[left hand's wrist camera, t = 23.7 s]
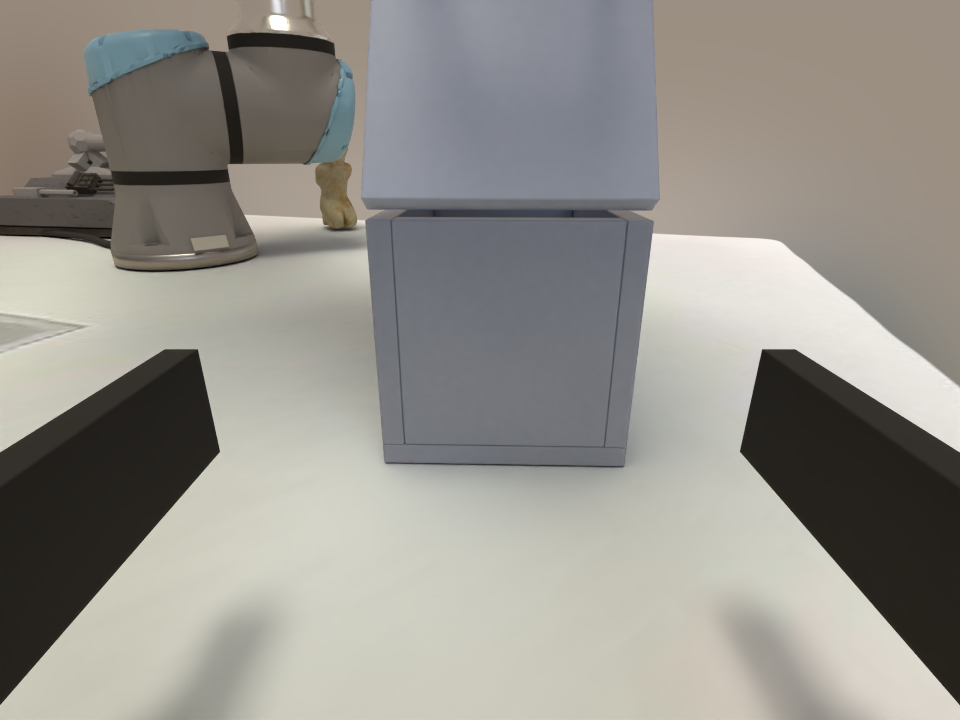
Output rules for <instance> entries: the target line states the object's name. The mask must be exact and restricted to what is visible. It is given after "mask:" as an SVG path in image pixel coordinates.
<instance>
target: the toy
mask: <svg viewBox="0 0 960 720" xmlns="http://www.w3.org/2000/svg"><path fill="white" fill-rule="evenodd" d="M68 143H69V147H70V148H71V149H72V150H73V152H74V155H73V156H72V157H71V158H70V160H69V161H68V162H67V163H68V164H69V165H71V166H72V167H70V168H66V169H63V170H60V171H57V172H55V173H53V174H52V177H49V178H31V179H30V180H29V181H28V183H27V184H26V186H25V187H23V188H12V190H13V194H14V196H0V234H16V235H44V234H41V233H40V232H41V231H45V230H57V231H67V232H75V233H82V234H88V235H93V236H97V237H111V236H112V226H113V217H114V208H115V199H116V192H115V187H114V183H113V178H112V174H111V171H110V167H109V163H108V159H107V158H106V157H104V156H103V155H102V154H101V153H99V151H106V150H105V146H104V142H103V138H102V134H100V135H99V134H98V135H97V134H96V135H93V134H92V133H90V132H88V131H85V130H81V129H80V130H75V131H73V132H71V133H70V135H69V136H68Z"/></svg>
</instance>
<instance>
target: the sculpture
mask: <svg viewBox="0 0 960 720" xmlns="http://www.w3.org/2000/svg"><path fill="white" fill-rule="evenodd" d="M347 150H348V148H347ZM347 150H346V152H345V153H344V155H343V156H342V157H341V158H340V159H338V160H336V161H334V162H324V163H321V164H319V165H318V166H317V167H316V170H315V174H316V183H317V184H318V185H319V186H320V188H321V199H320V209H321V212H322V215H323V224H324V225H328V226H330V227H331V228H335V229H340V228H343V227H349V228H351V227H353V226H355V225H356V223H357V216H356V212H355V210H354V208H353V206H352V204H351V202H350V200H349V199H348V197H347V181H348V179H349V177H350V175H351V172H352V168H351V165H350V164H348V163H345V162H344V160H345V156H346V153H347Z"/></svg>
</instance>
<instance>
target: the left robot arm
mask: <svg viewBox="0 0 960 720" xmlns="http://www.w3.org/2000/svg"><path fill="white" fill-rule="evenodd" d="M219 452H220V449H219V445H218V440H217V436H216V431H215V426H214V422H213V417H212V413H211V408H210V403H209V399H208V394H207V390H206V385H205V380H204V376H203V371H202V367H201V362H200V358H199V353H198V349H165V350H163V351H162V352H160V353H158V354H157V355H155V356H154V357H152V358H150V359H149V360H147V361H146V362H144V363H142V364H141V365H139V366H138V367H136V368H134V369H133V370H131V371H130V372H128V373H126V374H125V375H123V376H122V377H120V378H118V379H117V380H115V381H114V382H112V383H110V384H109V385H107V386H106V387H104V388H103V389H101V390H99V391H98V392H96V393H95V394H93V395H91V396H90V397H88V398H87V399H85V400H83V401H82V402H80V403H79V404H77V405H75V406H74V407H72V408H71V409H69V410H67V411H66V412H64V413H63V414H61V415H59V416H58V417H56V418H55V419H53V420H51V421H50V422H48V423H47V424H45V425H43V426H42V427H40V428H39V429H37V430H35V431H34V432H32V433H31V434H29V435H27V436H26V437H24V438H23V439H21V440H19V441H18V442H16V443H15V444H13V445H11V446H10V447H8V448H7V449H5V450H4V451H2V452H0V705H1V703H2V702H3V701H4V700H5V699H6V698H7V697H8V695H9V694H10V693H11V692H12V691H13V690H14V688H15V687H16V686H17V685H18V684H19V683H20V682H21V680H22V679H23V678H24V677H25V676H26V675H27V673H28V672H29V671H30V670H31V669H32V668H33V667H34V665H35V664H36V663H37V662H38V661H39V660H40V658H41V657H42V656H43V655H44V654H45V653H46V652H47V650H48V649H49V648H50V647H51V646H52V645H53V644H54V642H55V641H56V640H57V639H58V638H59V637H60V635H61V634H62V633H63V632H64V631H65V630H66V629H67V627H68V626H69V625H70V624H71V623H72V622H73V620H74V619H75V618H76V617H77V616H78V615H79V614H80V612H81V611H82V610H83V609H84V608H85V607H86V605H87V604H88V603H89V602H90V601H91V600H92V599H93V597H94V596H95V595H96V594H97V593H98V592H99V590H100V589H101V588H102V587H103V586H104V585H105V584H106V582H107V581H108V580H109V579H110V578H111V577H112V576H113V574H114V573H115V572H116V571H117V570H118V569H119V567H120V566H121V565H122V564H123V563H124V562H125V561H126V559H127V558H128V557H129V556H130V555H131V554H132V552H133V551H134V550H135V549H136V548H137V547H138V546H139V544H140V543H141V542H142V541H143V540H144V539H145V537H146V536H147V535H148V534H149V533H150V532H151V531H152V529H153V528H154V527H155V526H156V525H157V524H158V523H159V521H160V520H161V519H162V518H163V517H164V516H165V514H166V513H167V512H168V511H169V510H170V509H171V508H172V506H173V505H174V504H175V503H176V502H177V501H178V499H179V498H180V497H181V496H182V495H183V494H184V493H185V491H186V490H187V489H188V488H189V487H190V486H191V484H192V483H193V482H194V481H195V480H196V479H197V478H198V476H199V475H200V474H201V473H202V472H203V471H204V470H205V468H206V467H207V466H208V465H209V464H210V463H211V461H212V460H213V459H214V458H215V457H216V456H217V455H218V453H219ZM740 452H741V453H742V455H743V456H744V457H745V458H746V459H747V460H748V461H749V463H750V464H751V465H752V466H753V467H754V468H755V470H756V471H757V472H758V473H759V474H760V475H761V476H762V478H763V479H764V480H765V481H766V482H767V483H768V484H769V486H770V487H771V488H772V489H773V490H774V491H775V493H776V494H777V495H778V496H779V497H780V498H781V499H782V501H783V502H784V503H785V504H786V505H787V506H788V508H789V509H790V510H791V511H792V512H793V513H794V514H795V516H796V517H797V518H798V519H799V520H800V521H801V523H802V524H803V525H804V526H805V527H806V528H807V529H808V531H809V532H810V533H811V534H812V535H813V536H814V537H815V539H816V540H817V541H818V542H819V543H820V544H821V546H822V547H823V548H824V549H825V550H826V551H827V552H828V554H829V555H830V556H831V557H832V558H833V559H834V561H835V562H836V563H837V564H838V565H839V566H840V567H841V569H842V570H843V571H844V572H845V573H846V574H847V576H848V577H849V578H850V579H851V580H852V581H853V582H854V584H855V585H856V586H857V587H858V588H859V589H860V591H861V592H862V593H863V594H864V595H865V596H866V597H867V599H868V600H869V601H870V602H871V603H872V604H873V605H874V607H875V608H876V609H877V610H878V611H879V612H880V614H881V615H882V616H883V617H884V618H885V619H886V620H887V622H888V623H889V624H890V625H891V626H892V627H893V629H894V630H895V631H896V632H897V633H898V634H899V635H900V637H901V638H902V639H903V640H904V641H905V642H906V644H907V645H908V646H909V647H910V648H911V649H912V650H913V652H914V653H915V654H916V655H917V656H918V657H919V658H920V660H921V661H922V662H923V663H924V664H925V665H926V667H927V668H928V669H929V670H930V671H931V672H932V673H933V675H934V676H935V677H936V678H937V679H938V680H939V682H940V683H941V684H942V685H943V686H944V687H945V688H946V690H947V691H948V692H949V693H950V694H951V695H952V697H953V698H954V699H955V700H956V701H957V702H958V703H959V705H960V452H958V451H956V450H955V449H953V448H952V447H950V446H949V445H947V444H945V443H944V442H942V441H941V440H939V439H937V438H936V437H934V436H933V435H931V434H929V433H928V432H926V431H925V430H923V429H921V428H920V427H918V426H917V425H915V424H913V423H912V422H910V421H909V420H907V419H905V418H904V417H902V416H901V415H899V414H897V413H896V412H894V411H893V410H891V409H889V408H888V407H886V406H885V405H883V404H881V403H880V402H878V401H877V400H875V399H873V398H872V397H870V396H869V395H867V394H865V393H864V392H862V391H861V390H859V389H857V388H856V387H854V386H853V385H851V384H850V383H848V382H846V381H845V380H843V379H842V378H840V377H838V376H837V375H835V374H834V373H832V372H830V371H829V370H827V369H826V368H824V367H822V366H821V365H819V364H818V363H816V362H814V361H813V360H811V359H810V358H808V357H806V356H805V355H803V354H802V353H800V352H798V351H797V350H795V349H762V353H761V358H760V362H759V367H758V371H757V376H756V380H755V385H754V390H753V394H752V399H751V403H750V408H749V413H748V417H747V422H746V426H745V431H744V436H743V440H742V445H741V449H740Z"/></svg>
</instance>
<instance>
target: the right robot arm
mask: <svg viewBox="0 0 960 720" xmlns="http://www.w3.org/2000/svg"><path fill="white" fill-rule="evenodd" d="M237 7H238V20H237V21H236V22H235V24H234V25H233V26H232V27H231V28H230V30H229V31H228V32H227V40H228V47H229V52H219V51H210V50H208V49H209V45H208V43H207V42H206V40H205V38H204V37H203V36H202V35H201V34H199V33H196V32H192V31H180V30H174V29H151V30H134V31H124V32H118V33H111V34H107V35H103V36H100V37H97V38H95V39H93V40H91V41H90V42H89V43H88V44H87V46H86V47H85V50H84V61H85V67H86V72H87V77H88V83H89V88H88V93H89V95H90V96H92V97H93V101H94V105H95V109H96V113H97V117H98V121H99V125H100V129H101V133H102V138H103V142H104V146H105V150H106V154H107V159H108V163H109V167H110V171H111V174H112V178H113V183H114V187H115V192H116V199H115V208H114V217H113V226H112V236H111V241H108V240H104V239H102V238H99V237H97V236H93V235H88V234H82V233H75V232H67V231H57V230H45V231H41V232H40V233H41V234H44V235H49V236H60V237H68V238H76V239H83V240H88V241H93V242H96V243H98V244H100V245H103V246H106V247H111V253H112V257H113V261H114V264H115V265H116V266H118V267H121V268H126V269H135V270H175V269H190V268H200V267H209V266H216V265H222V264H228V263H233V262H238V261H242V260H245V259H248V258H251V257H253V256H255V255H256V254H257V253H258V250H257V244H256V239H255V237H254V234H253V232H252V230H251V228H250V226H249V224H248V222H247V220H246V218H245V216H244V214H243V212H242V210H241V208H240V206H239V204H238V202H237V200H236V198H235V196H234V194H233V192H232V189H231V185H230V179H229V174H228V167H227V165H228V164H305V165H310V164H311V163H324V162H334V161H336V160H338V159H340V158H341V157H342V156H343V155H344V153H345V152H346V150H347V148H348V145H349V142H350V139H351V135H352V130H353V124H354V115H355V86H354V82H353V80H352V71H351V69H350V67H349V65H348V64H347V63H346V62H343V61H342V60H341V59H336V58H335V48H334V40H333V39H332V38H331V37H330V36H329V35H328V34H327V33H326V31H325V30H324V29H323V28H322V27H321V25H320V24H319V17H318V6H317V0H237Z"/></svg>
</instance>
